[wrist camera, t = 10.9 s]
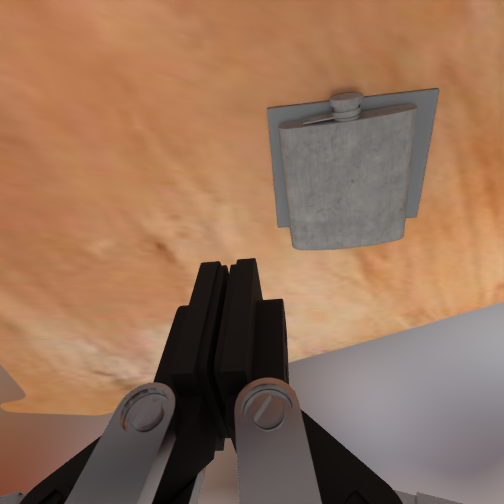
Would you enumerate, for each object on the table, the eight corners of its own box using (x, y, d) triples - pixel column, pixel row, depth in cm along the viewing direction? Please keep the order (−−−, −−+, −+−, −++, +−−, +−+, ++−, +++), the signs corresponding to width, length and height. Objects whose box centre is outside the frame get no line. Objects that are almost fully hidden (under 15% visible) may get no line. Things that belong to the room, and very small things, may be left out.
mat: (437, 88, 40) (439, 89, 39) (415, 215, 50) (416, 217, 49) (267, 107, 42) (267, 109, 42) (278, 225, 52) (278, 227, 51)
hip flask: (399, 227, 50) (413, 79, 39) (408, 243, 47) (426, 85, 36) (291, 239, 52) (275, 102, 41) (292, 254, 49) (275, 109, 38)
